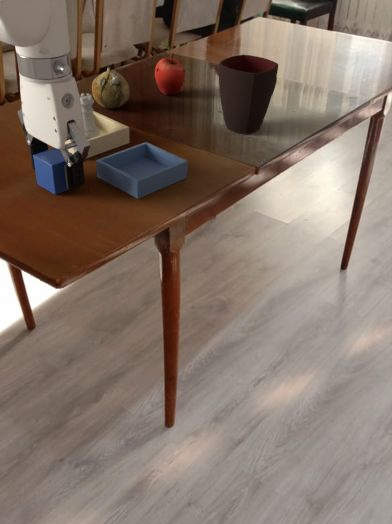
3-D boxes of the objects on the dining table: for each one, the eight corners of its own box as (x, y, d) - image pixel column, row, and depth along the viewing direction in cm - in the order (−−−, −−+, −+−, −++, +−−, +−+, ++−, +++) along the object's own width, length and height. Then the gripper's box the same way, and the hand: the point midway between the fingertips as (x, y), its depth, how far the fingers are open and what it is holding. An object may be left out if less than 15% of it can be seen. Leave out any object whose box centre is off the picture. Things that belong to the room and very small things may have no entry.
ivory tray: (81, 160, 109) (79, 143, 107) (46, 142, 114) (44, 125, 112) (129, 143, 116) (129, 127, 114) (94, 126, 121) (93, 110, 119)
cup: (207, 128, 122) (211, 63, 114) (247, 109, 130) (253, 47, 123) (249, 142, 118) (256, 76, 110) (288, 122, 126) (297, 59, 118)
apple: (191, 91, 137) (192, 42, 130) (177, 101, 132) (178, 51, 126) (159, 85, 139) (159, 37, 133) (145, 95, 134) (144, 45, 128)
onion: (139, 105, 130) (138, 64, 125) (114, 116, 125) (112, 74, 120) (111, 96, 133) (108, 56, 128) (85, 107, 128) (82, 66, 123)
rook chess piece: (70, 140, 114) (66, 96, 109) (86, 133, 117) (83, 89, 112) (89, 147, 112) (85, 102, 107) (105, 139, 115) (102, 95, 110)
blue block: (55, 195, 100) (51, 165, 96) (37, 184, 102) (32, 155, 99) (80, 185, 102) (77, 156, 99) (62, 175, 105) (58, 146, 102)
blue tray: (137, 199, 100) (137, 181, 98) (97, 177, 105) (95, 160, 103) (187, 177, 106) (187, 160, 104) (146, 158, 111) (146, 141, 109)
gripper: (103, 74, 87) (110, 188, 99) (31, 45, 96) (45, 152, 108) (60, 86, 83) (72, 203, 95) (-12, 54, 92) (8, 165, 104)
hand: (58, 176), depth 101 cm, fingers open, 8 cm apart
